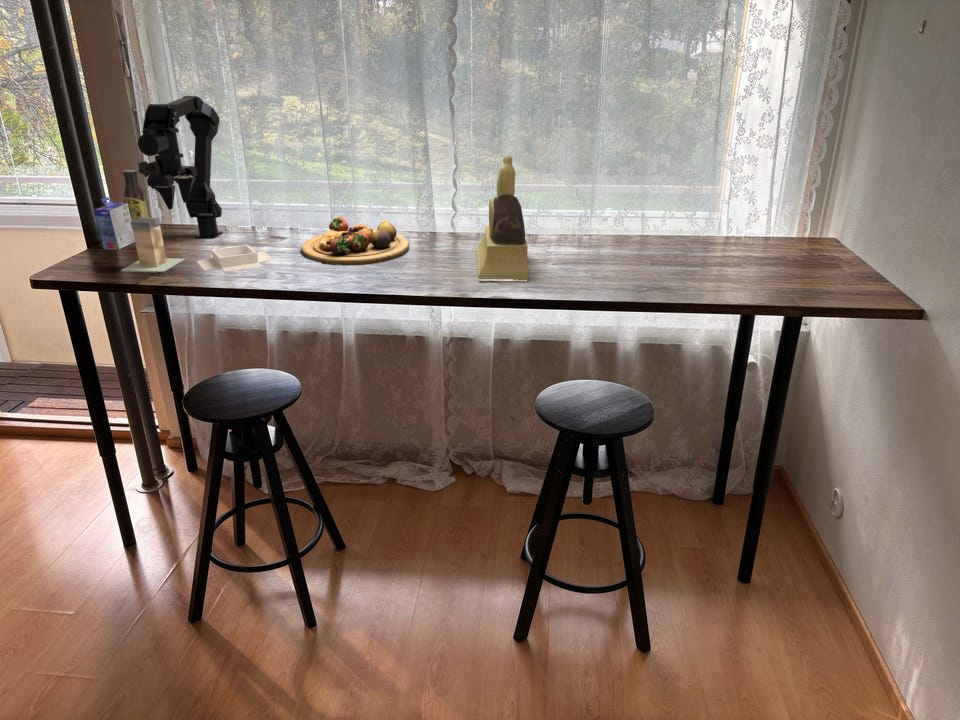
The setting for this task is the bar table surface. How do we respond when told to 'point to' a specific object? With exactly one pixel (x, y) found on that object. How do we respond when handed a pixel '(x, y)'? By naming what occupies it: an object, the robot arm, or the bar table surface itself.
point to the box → (149, 241)
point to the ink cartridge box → (114, 225)
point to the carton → (234, 258)
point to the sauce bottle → (134, 195)
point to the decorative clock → (504, 232)
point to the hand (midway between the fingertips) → (178, 205)
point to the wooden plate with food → (355, 244)
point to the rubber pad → (136, 267)
